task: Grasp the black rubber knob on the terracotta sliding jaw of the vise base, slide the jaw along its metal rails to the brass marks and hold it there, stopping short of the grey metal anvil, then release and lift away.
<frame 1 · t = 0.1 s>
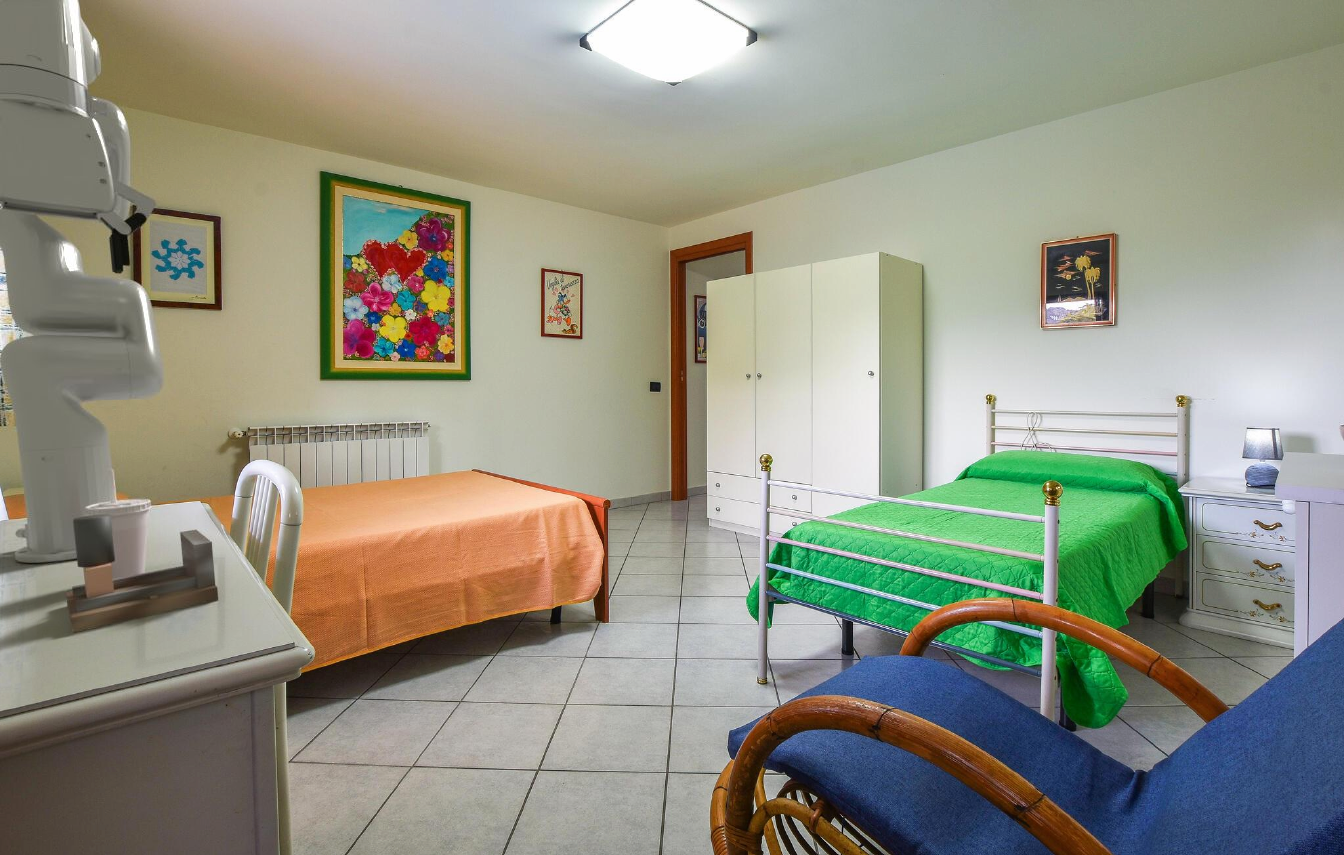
hand: (58, 267, 67), 37 cm above the table, tool pointing down, fingers open, 9 cm apart
jaw: (96, 556, 68), point 6 cm above the table, slide at 0.0 cm
smoothie: (125, 580, 80), on the table
vise base: (143, 602, 71), on the table
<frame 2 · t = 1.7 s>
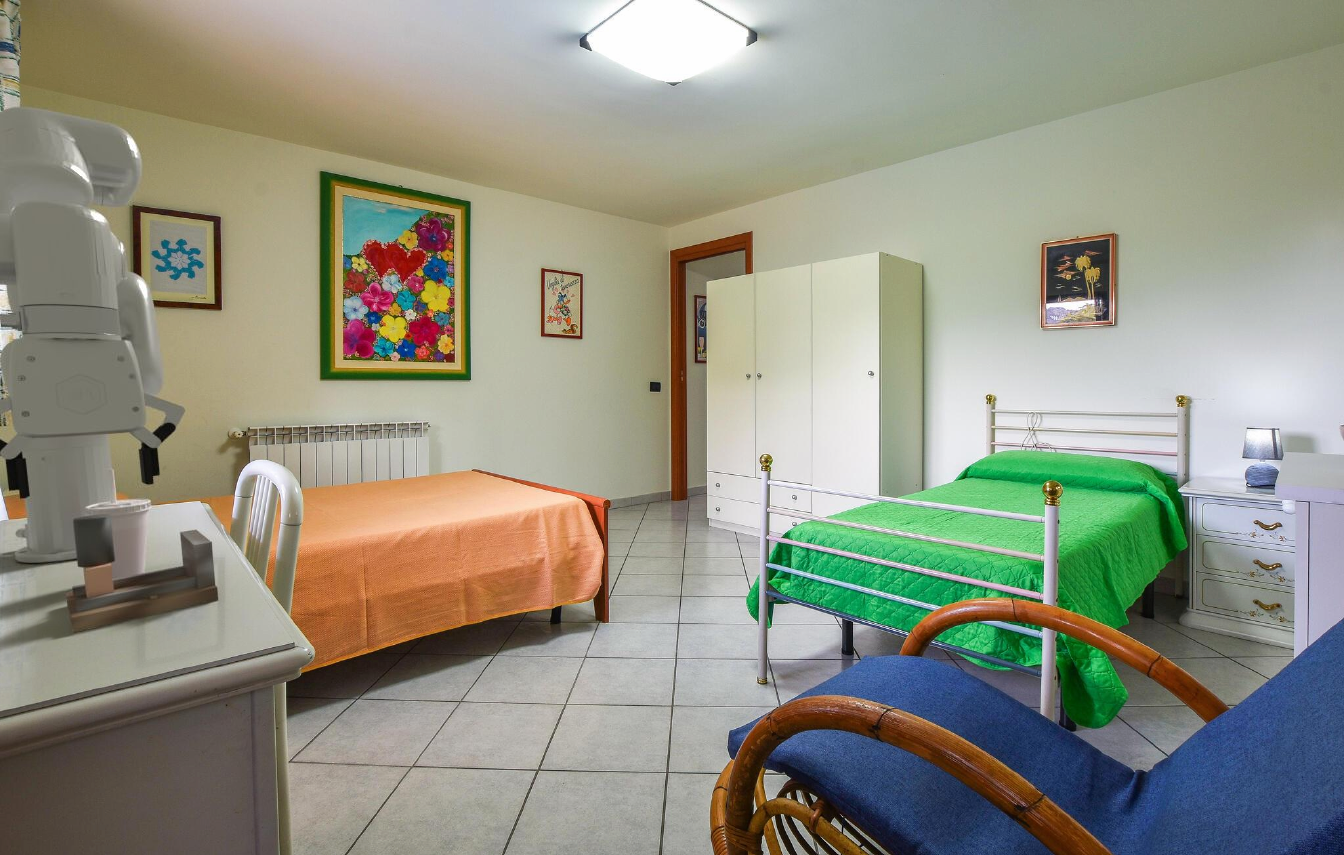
hand: (89, 489, 67), 13 cm above the table, tool pointing down, fingers open, 9 cm apart
nothing on the table moved.
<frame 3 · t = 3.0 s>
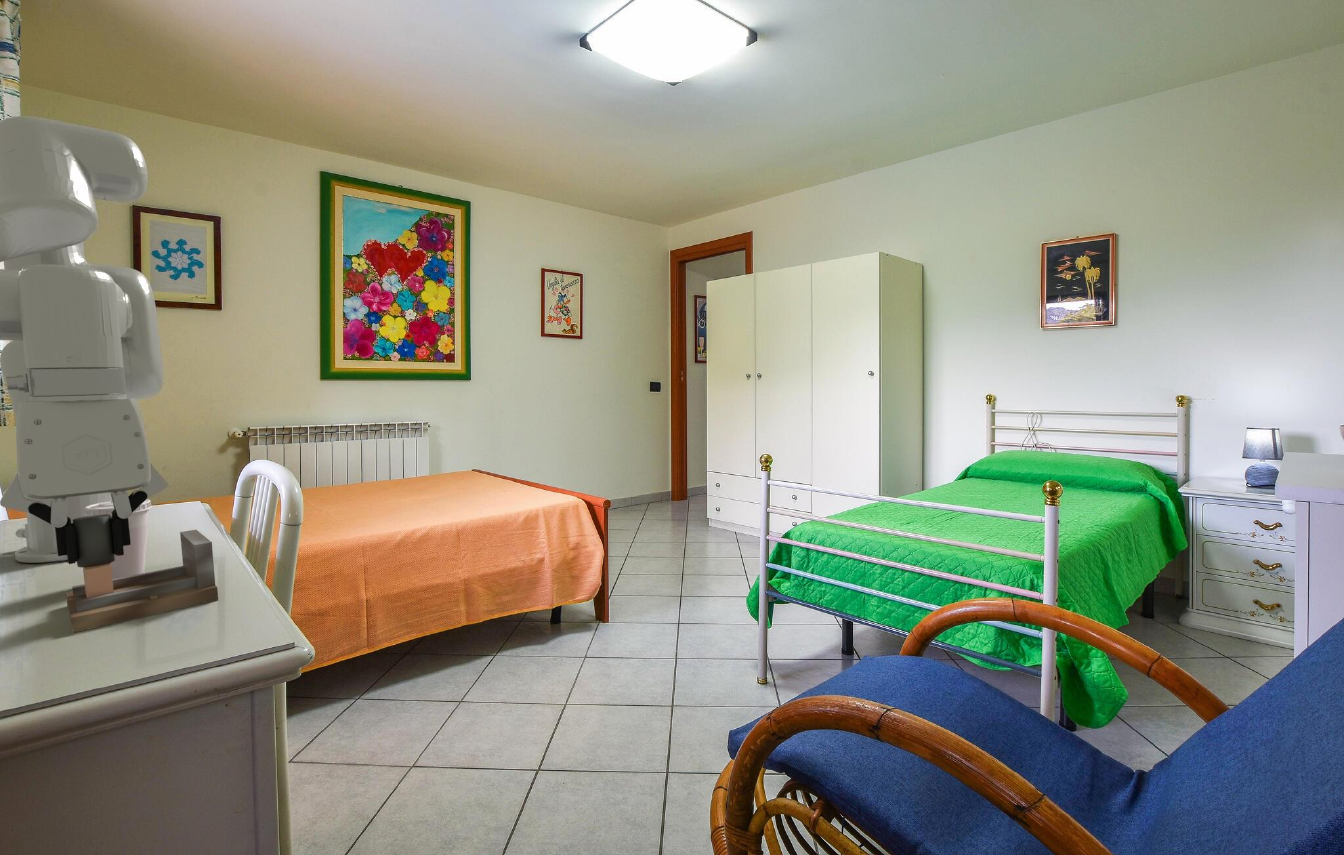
hand: (95, 555, 68), 6 cm above the table, tool pointing down, fingers closed on jaw, 3 cm apart
jaw: (95, 556, 68), point 6 cm above the table, slide at 0.0 cm, touching gripper
everything else where it was.
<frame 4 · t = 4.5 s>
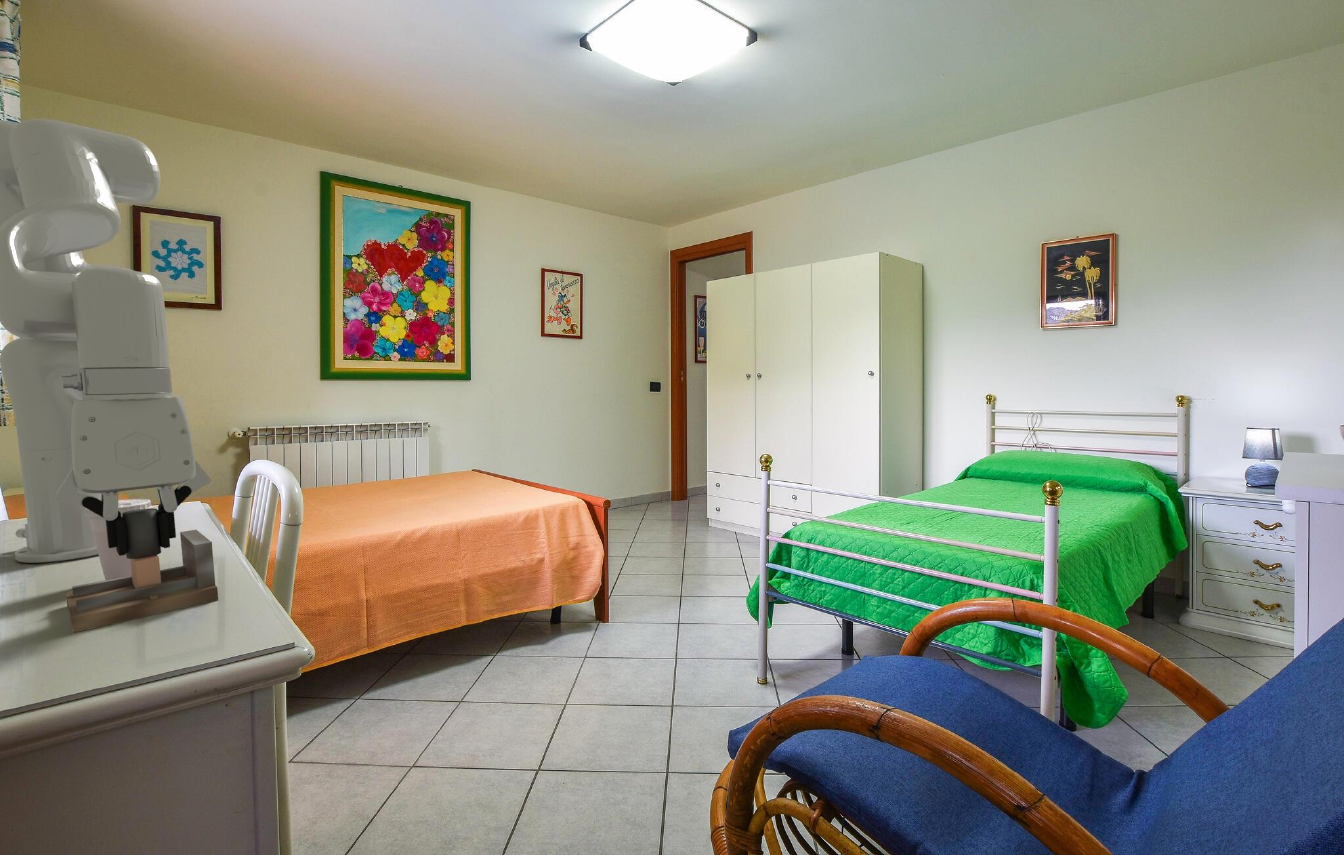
hand: (143, 547, 71), 6 cm above the table, tool pointing down, fingers closed on jaw, 3 cm apart
jaw: (143, 548, 71), point 6 cm above the table, slide at 4.0 cm, touching gripper
everything else where it was.
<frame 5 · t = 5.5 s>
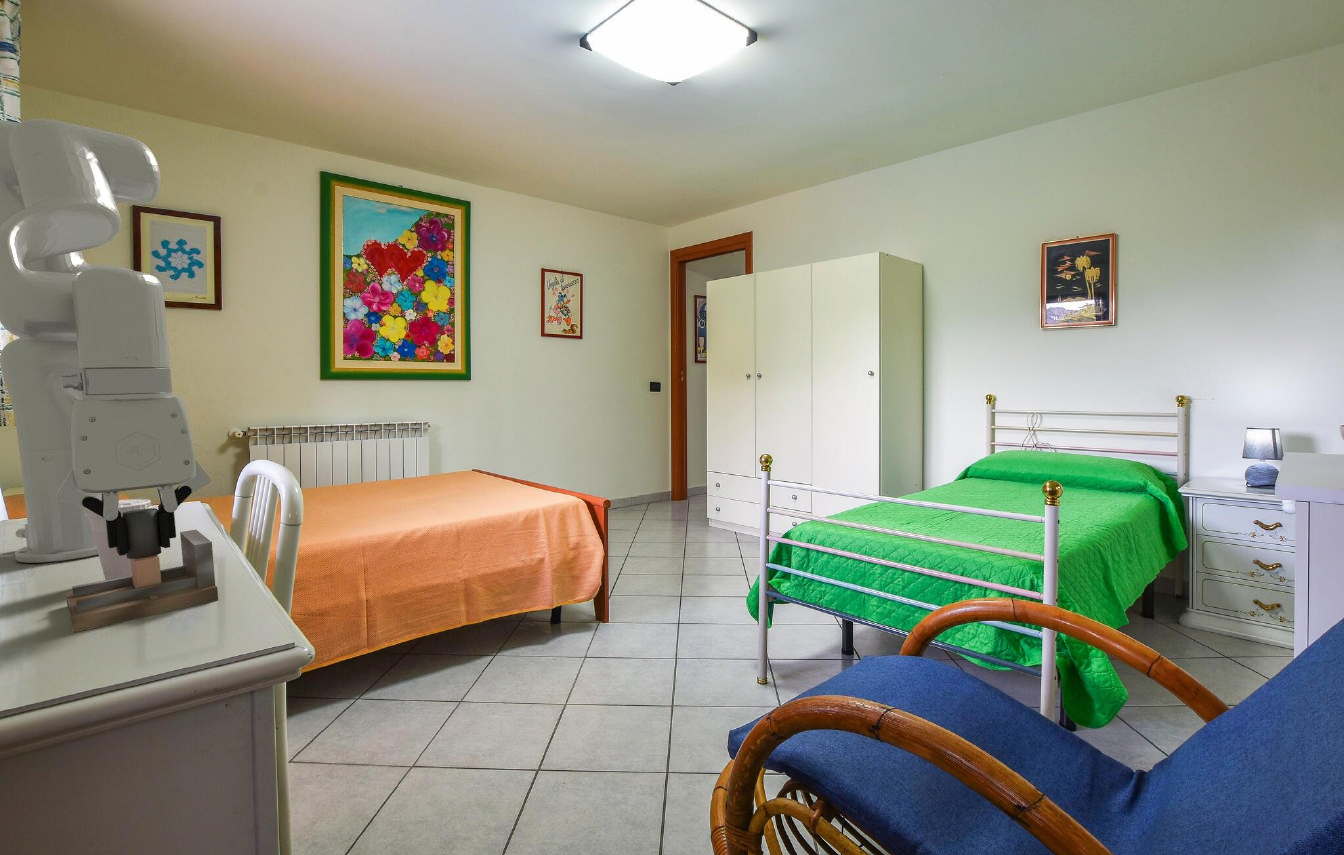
hand: (143, 547, 71), 6 cm above the table, tool pointing down, fingers closed on jaw, 3 cm apart
jaw: (143, 548, 71), point 6 cm above the table, slide at 4.0 cm, touching gripper
everything else where it was.
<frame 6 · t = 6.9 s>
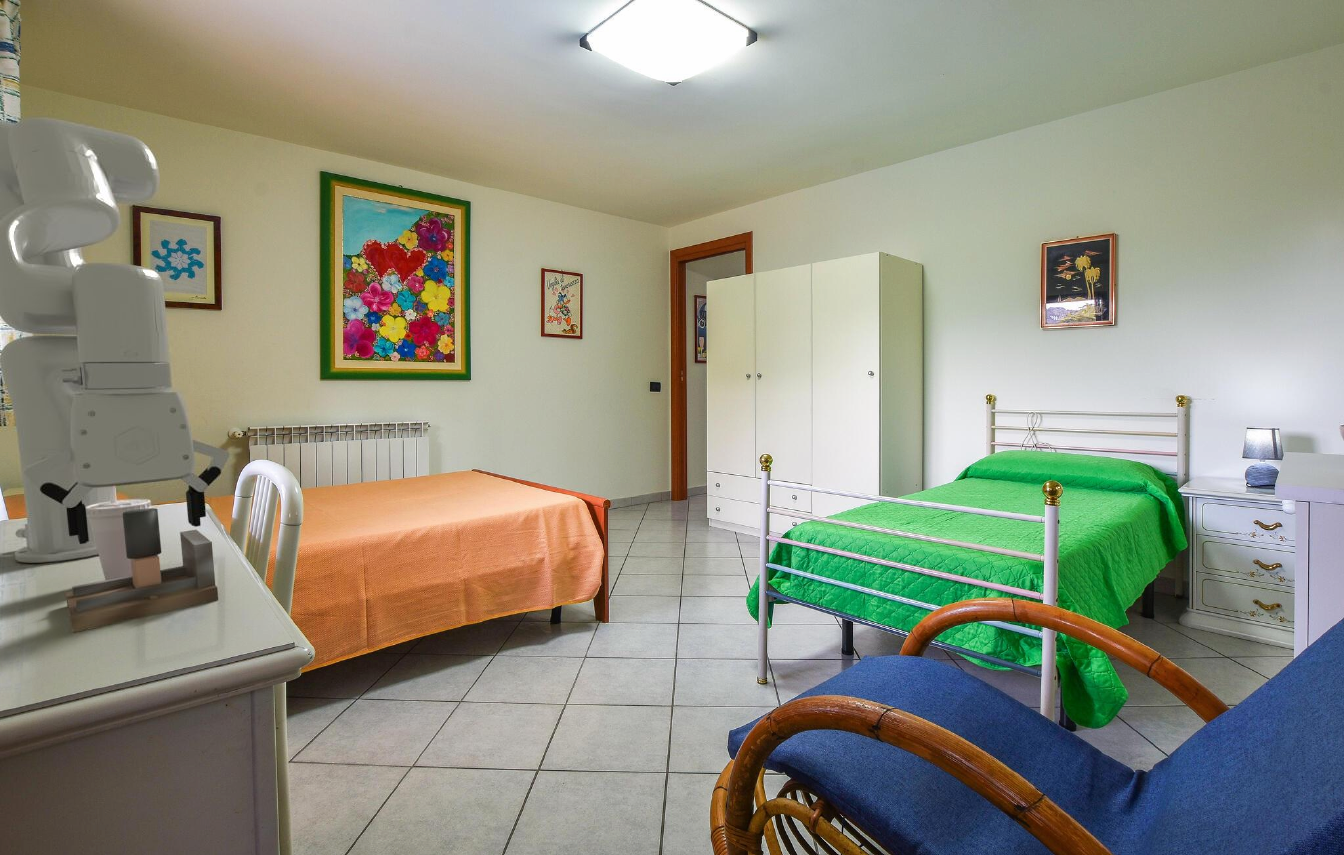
hand: (141, 532, 71), 8 cm above the table, tool pointing down, fingers open, 9 cm apart
jaw: (143, 548, 71), point 6 cm above the table, slide at 4.0 cm
everything else where it was.
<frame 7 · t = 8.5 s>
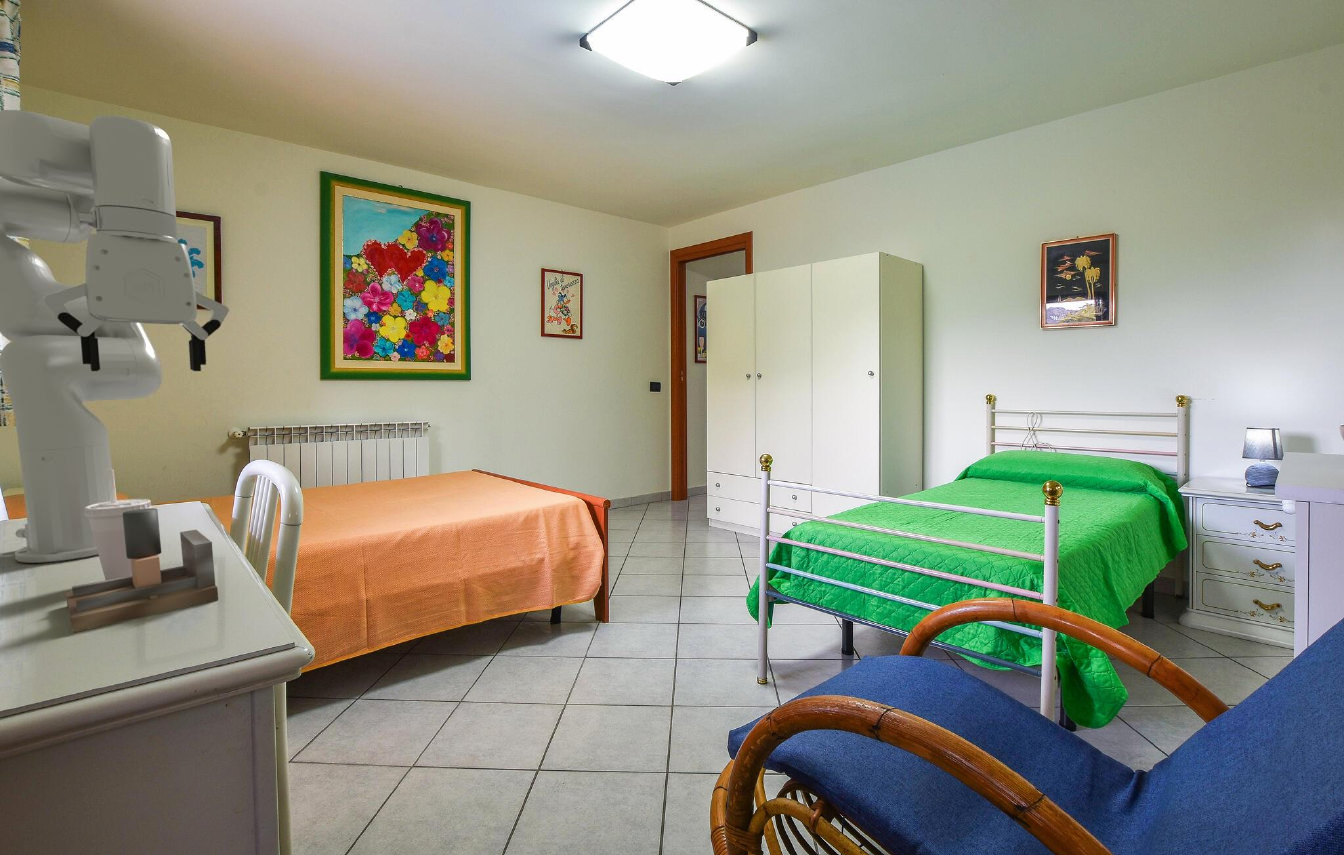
hand: (147, 370, 78), 26 cm above the table, tool pointing down, fingers open, 9 cm apart
nothing on the table moved.
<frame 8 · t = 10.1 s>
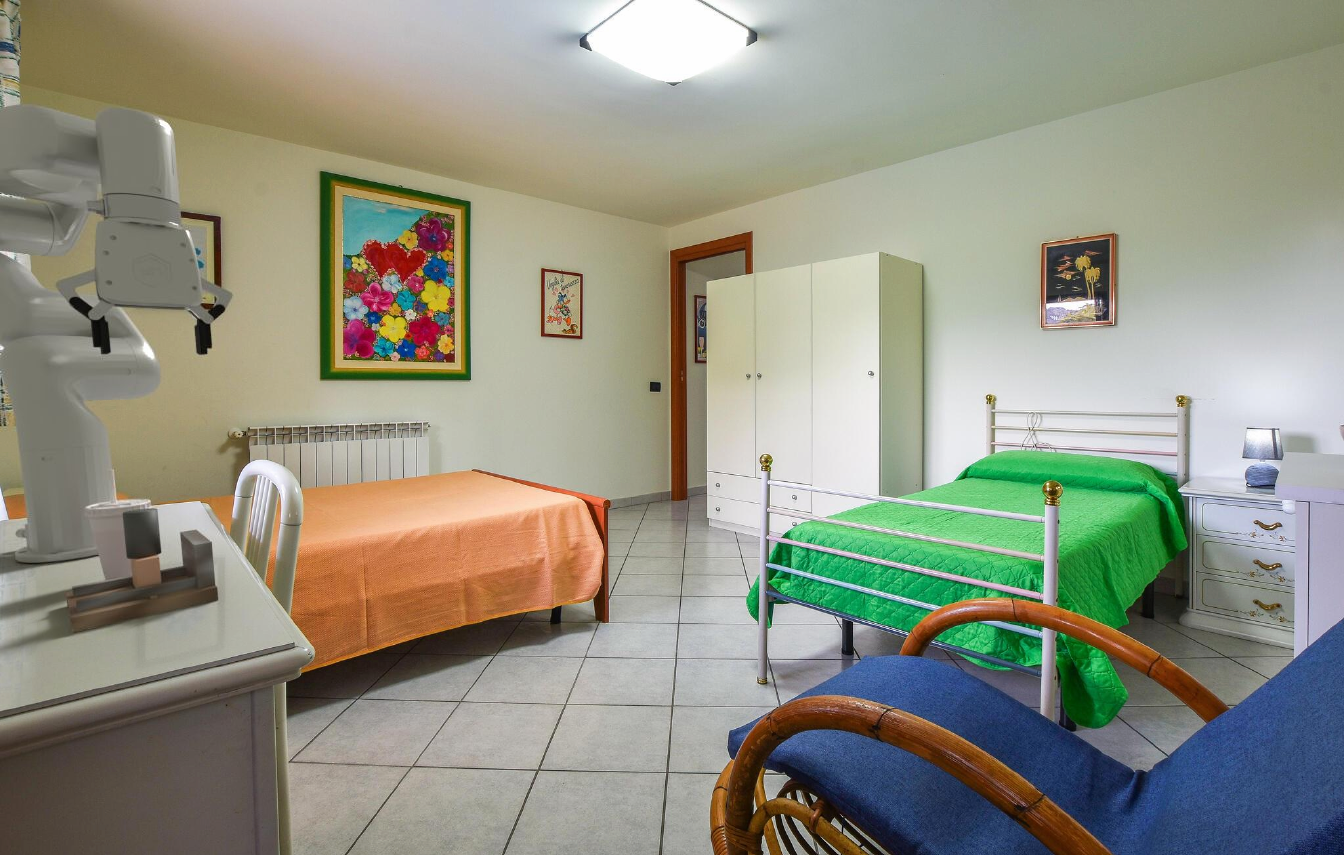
hand: (156, 354, 81), 28 cm above the table, tool pointing down, fingers open, 9 cm apart
nothing on the table moved.
at the end: jaw slide at 4.0 cm; the gripper is holding nothing; smoothie moved 0.2 cm from its start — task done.
